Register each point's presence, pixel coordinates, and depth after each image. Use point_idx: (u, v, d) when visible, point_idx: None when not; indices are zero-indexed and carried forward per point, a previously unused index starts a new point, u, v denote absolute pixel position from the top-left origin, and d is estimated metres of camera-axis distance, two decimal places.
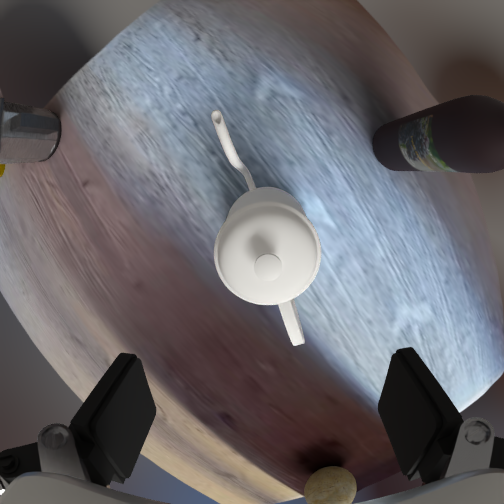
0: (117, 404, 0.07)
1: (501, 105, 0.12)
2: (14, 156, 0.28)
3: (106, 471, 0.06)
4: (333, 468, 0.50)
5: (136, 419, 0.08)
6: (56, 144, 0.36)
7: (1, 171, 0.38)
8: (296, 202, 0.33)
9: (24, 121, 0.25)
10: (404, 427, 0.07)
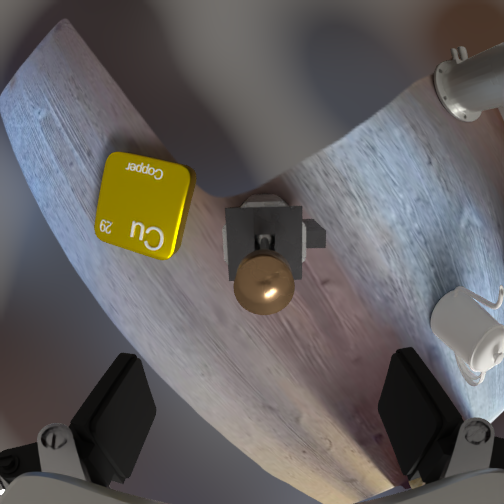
0: (117, 404, 0.07)
1: None
2: None
3: (106, 472, 0.05)
4: None
5: (136, 419, 0.08)
6: None
7: (177, 249, 0.45)
8: None
9: None
10: (404, 427, 0.07)
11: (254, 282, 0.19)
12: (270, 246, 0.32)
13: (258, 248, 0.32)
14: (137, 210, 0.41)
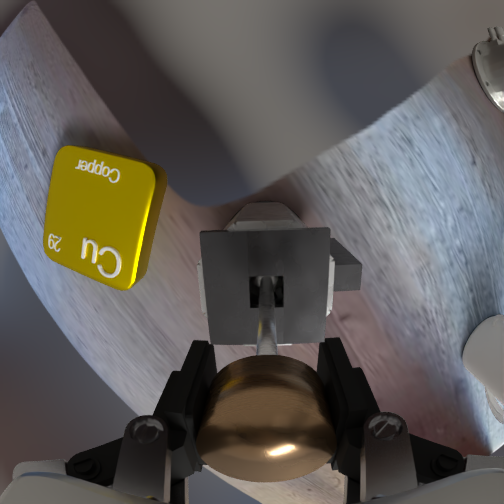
0: (203, 389, 0.08)
1: None
2: None
3: (192, 459, 0.07)
4: None
5: None
6: None
7: (142, 275, 0.33)
8: None
9: None
10: None
11: (245, 446, 0.06)
12: (275, 290, 0.20)
13: (256, 293, 0.20)
14: (89, 223, 0.29)
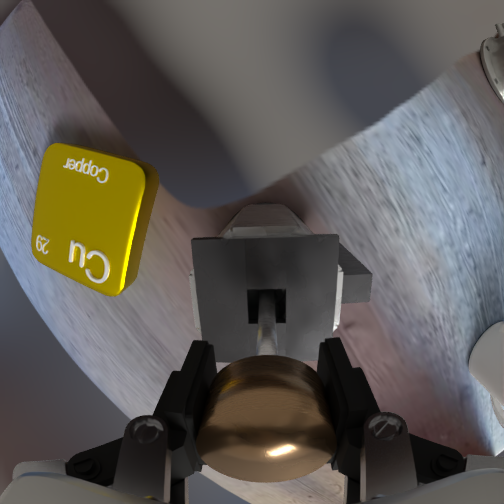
0: (203, 389, 0.08)
1: None
2: None
3: (192, 459, 0.07)
4: None
5: None
6: None
7: (132, 281, 0.31)
8: None
9: None
10: None
11: (245, 446, 0.06)
12: (275, 290, 0.20)
13: (256, 293, 0.20)
14: (76, 225, 0.26)
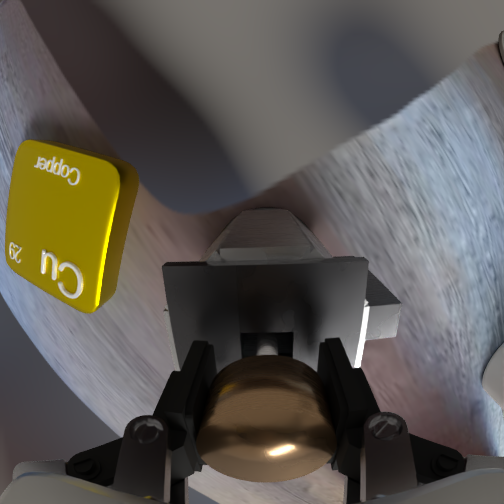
0: (203, 389, 0.08)
1: None
2: None
3: (193, 460, 0.07)
4: None
5: None
6: None
7: (110, 295, 0.27)
8: None
9: None
10: None
11: (245, 446, 0.06)
12: None
13: None
14: (48, 233, 0.22)
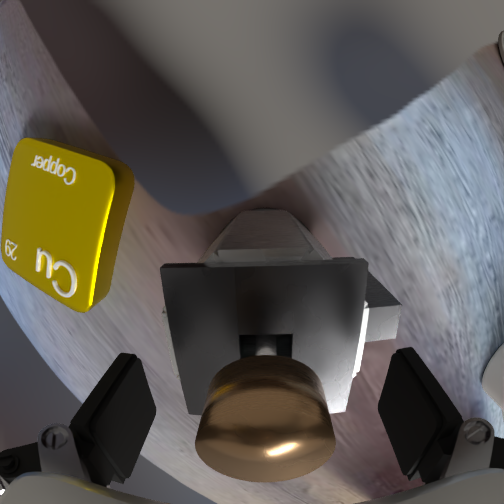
0: (117, 404, 0.07)
1: None
2: None
3: (106, 472, 0.05)
4: None
5: (136, 419, 0.08)
6: None
7: (104, 295, 0.26)
8: None
9: None
10: (404, 427, 0.07)
11: (244, 446, 0.06)
12: None
13: None
14: (43, 231, 0.22)
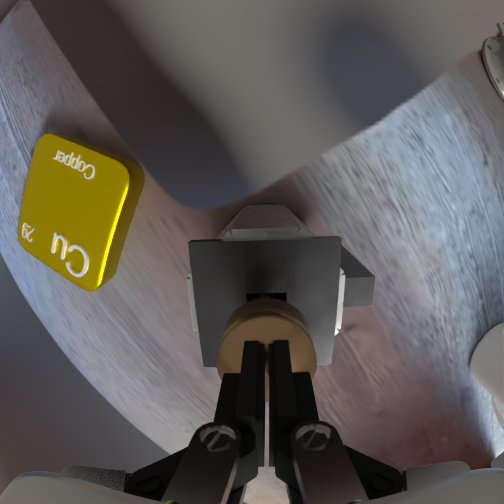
0: (264, 389, 0.08)
1: None
2: None
3: (256, 462, 0.06)
4: None
5: (264, 405, 0.09)
6: None
7: (110, 277, 0.31)
8: None
9: None
10: None
11: None
12: None
13: None
14: (61, 218, 0.26)
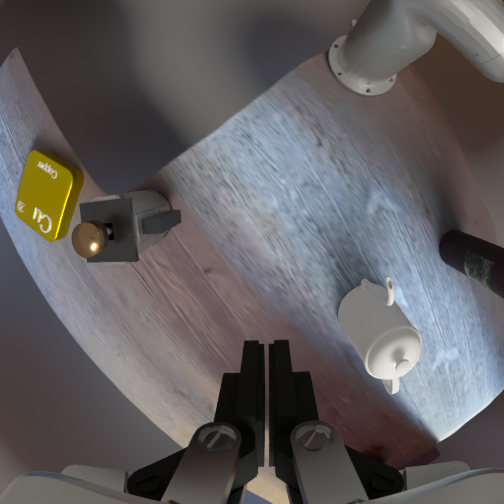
0: (264, 389, 0.08)
1: None
2: (140, 252, 0.39)
3: (256, 462, 0.06)
4: None
5: (264, 405, 0.09)
6: (169, 228, 0.47)
7: (64, 235, 0.48)
8: None
9: (163, 226, 0.35)
10: None
11: (80, 237, 0.28)
12: None
13: None
14: (39, 199, 0.43)
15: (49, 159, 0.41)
